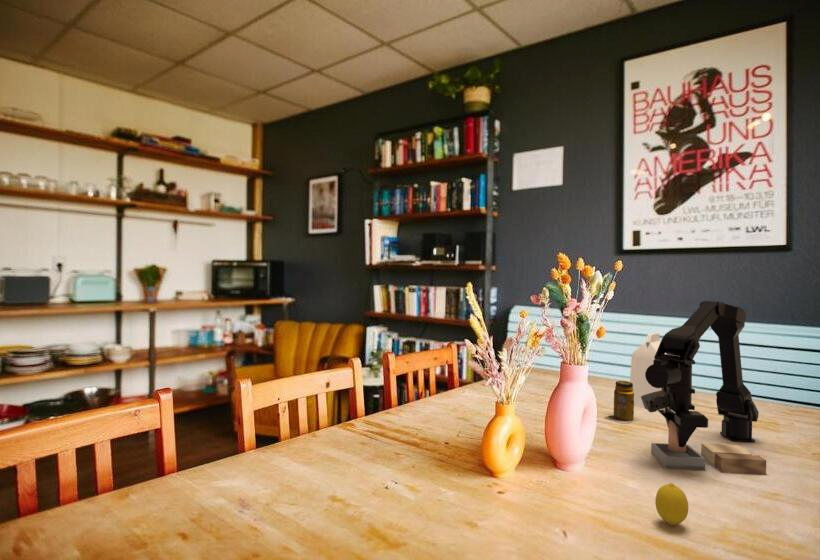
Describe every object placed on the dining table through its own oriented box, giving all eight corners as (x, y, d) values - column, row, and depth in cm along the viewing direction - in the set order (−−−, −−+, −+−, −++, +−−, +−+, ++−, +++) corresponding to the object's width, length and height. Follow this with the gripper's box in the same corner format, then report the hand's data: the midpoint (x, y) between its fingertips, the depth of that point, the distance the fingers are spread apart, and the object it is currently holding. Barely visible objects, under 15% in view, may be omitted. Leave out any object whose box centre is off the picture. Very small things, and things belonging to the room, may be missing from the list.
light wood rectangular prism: (738, 460, 123) (739, 445, 123) (751, 470, 117) (751, 454, 117) (700, 458, 124) (701, 443, 124) (711, 467, 118) (712, 451, 118)
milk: (661, 412, 164) (662, 337, 163) (628, 404, 172) (629, 333, 172) (676, 406, 171) (677, 334, 170) (644, 399, 180) (645, 330, 179)
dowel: (682, 447, 123) (682, 420, 122) (689, 453, 119) (689, 425, 118) (665, 446, 123) (666, 419, 123) (672, 452, 119) (672, 424, 119)
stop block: (758, 469, 117) (758, 455, 117) (766, 474, 114) (766, 460, 114) (714, 467, 118) (715, 453, 118) (721, 472, 115) (721, 457, 115)
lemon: (649, 518, 93) (649, 477, 93) (675, 517, 94) (676, 477, 94) (666, 533, 88) (667, 490, 88) (694, 532, 88) (695, 490, 88)
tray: (688, 456, 125) (688, 444, 125) (705, 470, 116) (705, 458, 116) (651, 454, 126) (651, 442, 126) (665, 468, 117) (665, 456, 117)
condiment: (639, 419, 155) (640, 383, 155) (624, 424, 151) (624, 386, 150) (619, 414, 161) (619, 378, 161) (603, 418, 157) (604, 382, 156)
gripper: (632, 373, 131) (631, 430, 131) (659, 391, 112) (658, 456, 113) (675, 375, 129) (674, 431, 130) (710, 392, 111) (708, 459, 111)
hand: (677, 443), depth 121 cm, fingers closed on dowel, 4 cm apart
